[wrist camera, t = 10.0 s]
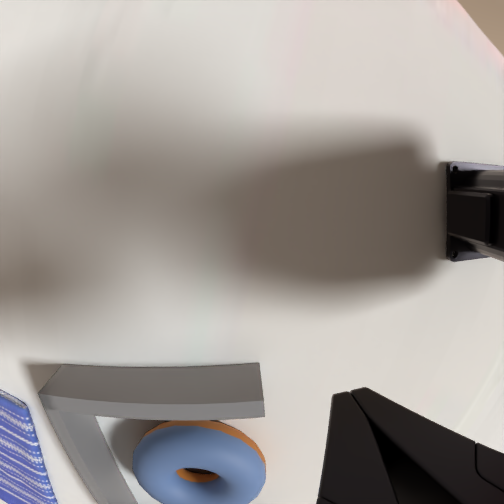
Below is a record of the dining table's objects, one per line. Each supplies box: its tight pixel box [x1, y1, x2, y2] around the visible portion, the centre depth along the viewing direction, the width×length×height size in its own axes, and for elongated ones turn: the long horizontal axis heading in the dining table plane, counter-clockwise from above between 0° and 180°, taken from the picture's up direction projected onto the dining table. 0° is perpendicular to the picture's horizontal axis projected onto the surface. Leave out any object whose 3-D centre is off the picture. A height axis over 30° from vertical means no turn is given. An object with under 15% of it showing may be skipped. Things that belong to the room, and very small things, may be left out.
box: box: [38, 363, 265, 504], centre depth 19 cm, size 14×18×4 cm
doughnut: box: [132, 420, 266, 504], centre depth 20 cm, size 10×10×5 cm
